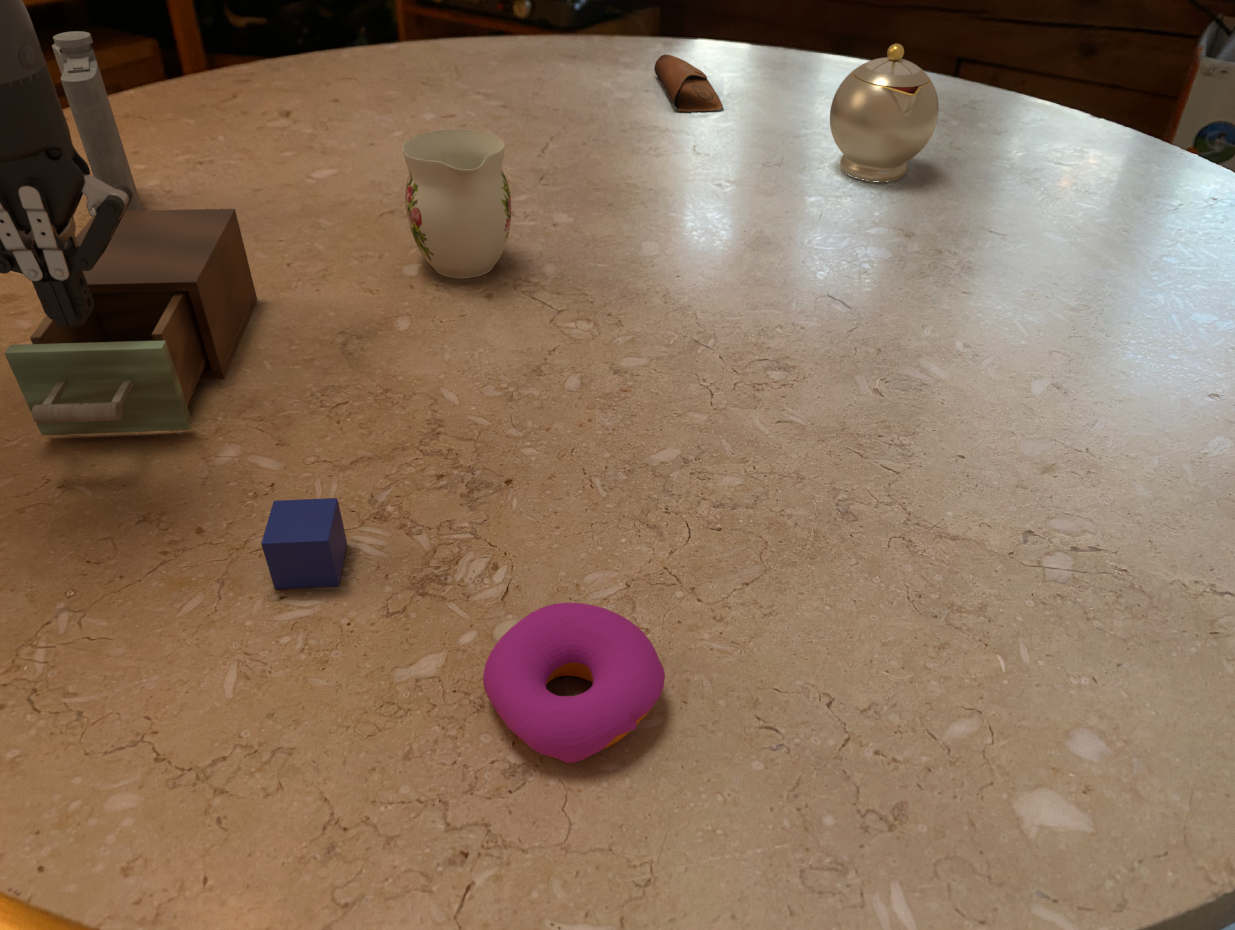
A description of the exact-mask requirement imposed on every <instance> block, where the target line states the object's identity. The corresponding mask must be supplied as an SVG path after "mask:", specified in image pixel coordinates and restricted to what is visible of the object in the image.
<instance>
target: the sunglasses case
mask: <svg viewBox="0 0 1235 930" xmlns="http://www.w3.org/2000/svg"><path fill="white" fill-rule="evenodd" d="M653 67H654V68H653V69H654V70H653V71H654V73H655V75H656V77H657V78H658V80H659V81H660V83H661V85H662V87H663V88H664V90H665V92H666V94H667V96H668V97H669V100H670V101H671V102H670V103H672V105H673V106H674V107H675V108H676V110H677V111H678V112H681V113H706V112H708V113H709V112H716V111H721V110H723V109H724V105H723V103H722V101H721V99H720V97H719V95H718V93H717V92H716V90H715V88H714V87H713V85H712V84H711V83H710V81H709V79H708V76H707V75H706V73H704V72H703V70H701V69H699V68H697V67H696V66H694V65H692V64H691V63H689V62H688V61H686V60H684V59H681V58H680V57H677V56H675V55H672V54H662V55H660V56H659V57H658V58H657V59H656V62H655V63H654V66H653Z"/></svg>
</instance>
